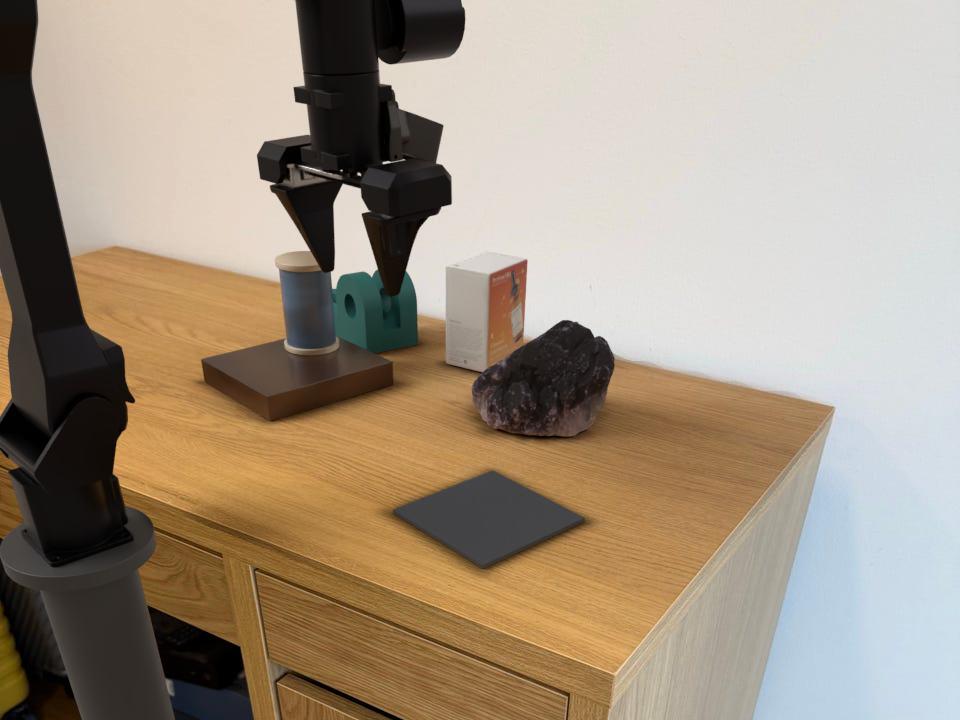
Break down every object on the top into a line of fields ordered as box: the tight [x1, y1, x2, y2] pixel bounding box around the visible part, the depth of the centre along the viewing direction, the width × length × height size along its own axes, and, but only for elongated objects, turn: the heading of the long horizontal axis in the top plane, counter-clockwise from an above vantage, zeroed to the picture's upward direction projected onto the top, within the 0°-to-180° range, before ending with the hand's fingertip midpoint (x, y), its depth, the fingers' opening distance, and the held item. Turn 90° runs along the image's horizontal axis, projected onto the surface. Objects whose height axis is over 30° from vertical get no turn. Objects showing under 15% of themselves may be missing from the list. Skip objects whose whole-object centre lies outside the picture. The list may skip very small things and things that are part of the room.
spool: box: [274, 250, 339, 356], centre depth 95 cm, size 6×6×9 cm
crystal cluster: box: [471, 319, 616, 437], centre depth 88 cm, size 13×14×10 cm
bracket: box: [332, 268, 419, 354], centre depth 108 cm, size 18×7×8 cm, turn 35°
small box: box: [445, 250, 529, 373], centre depth 99 cm, size 8×6×10 cm
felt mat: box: [392, 470, 586, 570], centre depth 74 cm, size 11×11×1 cm
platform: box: [200, 336, 394, 422], centre depth 95 cm, size 15×13×2 cm
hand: (359, 283), depth 78 cm, fingers open, 9 cm apart
